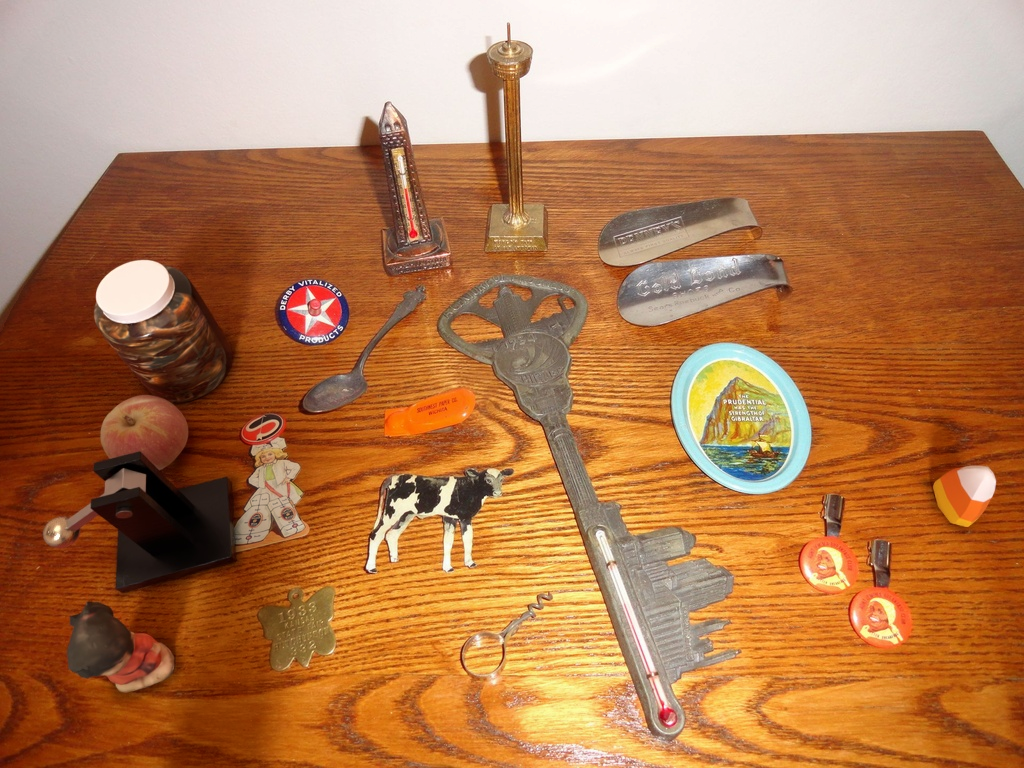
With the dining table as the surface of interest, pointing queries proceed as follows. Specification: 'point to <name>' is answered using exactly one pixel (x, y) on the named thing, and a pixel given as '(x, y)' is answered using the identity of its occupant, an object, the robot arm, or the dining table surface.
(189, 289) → the jar
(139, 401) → the apple
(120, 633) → the figurine
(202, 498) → the bracket
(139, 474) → the lever
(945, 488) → the candy corn
